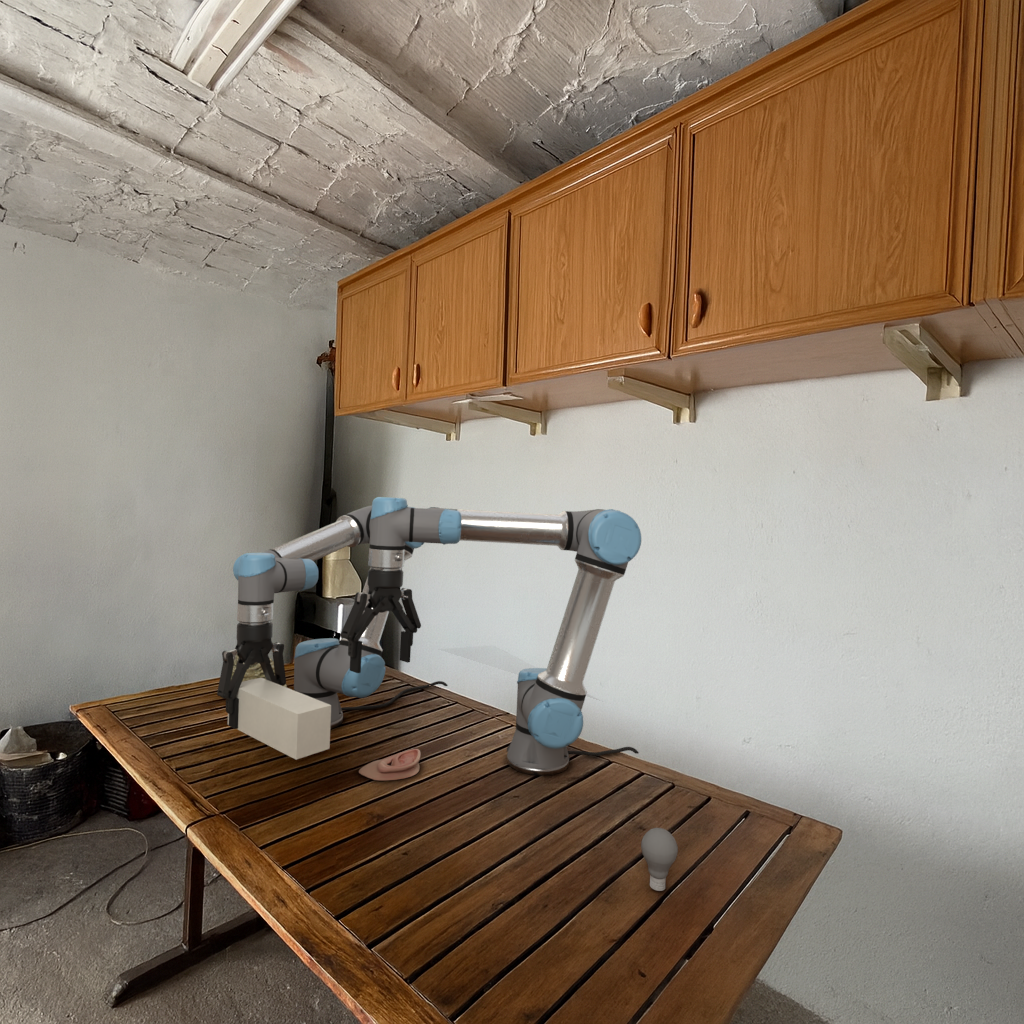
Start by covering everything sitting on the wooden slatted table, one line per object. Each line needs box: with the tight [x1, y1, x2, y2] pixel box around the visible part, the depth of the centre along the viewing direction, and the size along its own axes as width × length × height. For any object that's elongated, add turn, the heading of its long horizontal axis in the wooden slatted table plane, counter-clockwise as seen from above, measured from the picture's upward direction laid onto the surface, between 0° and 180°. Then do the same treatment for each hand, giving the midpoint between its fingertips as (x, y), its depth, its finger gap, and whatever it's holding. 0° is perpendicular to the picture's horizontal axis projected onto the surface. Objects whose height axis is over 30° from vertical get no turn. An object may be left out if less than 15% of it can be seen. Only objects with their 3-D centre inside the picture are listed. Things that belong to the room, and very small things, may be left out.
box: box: [227, 678, 331, 761], centre depth 136 cm, size 27×8×9 cm, turn 51°
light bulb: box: [640, 827, 679, 892], centre depth 106 cm, size 6×6×10 cm
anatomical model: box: [358, 748, 422, 782], centre depth 147 cm, size 13×4×12 cm
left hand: (251, 722), depth 143 cm, fingers closed on box, 8 cm apart
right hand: (380, 666), depth 137 cm, fingers open, 13 cm apart
